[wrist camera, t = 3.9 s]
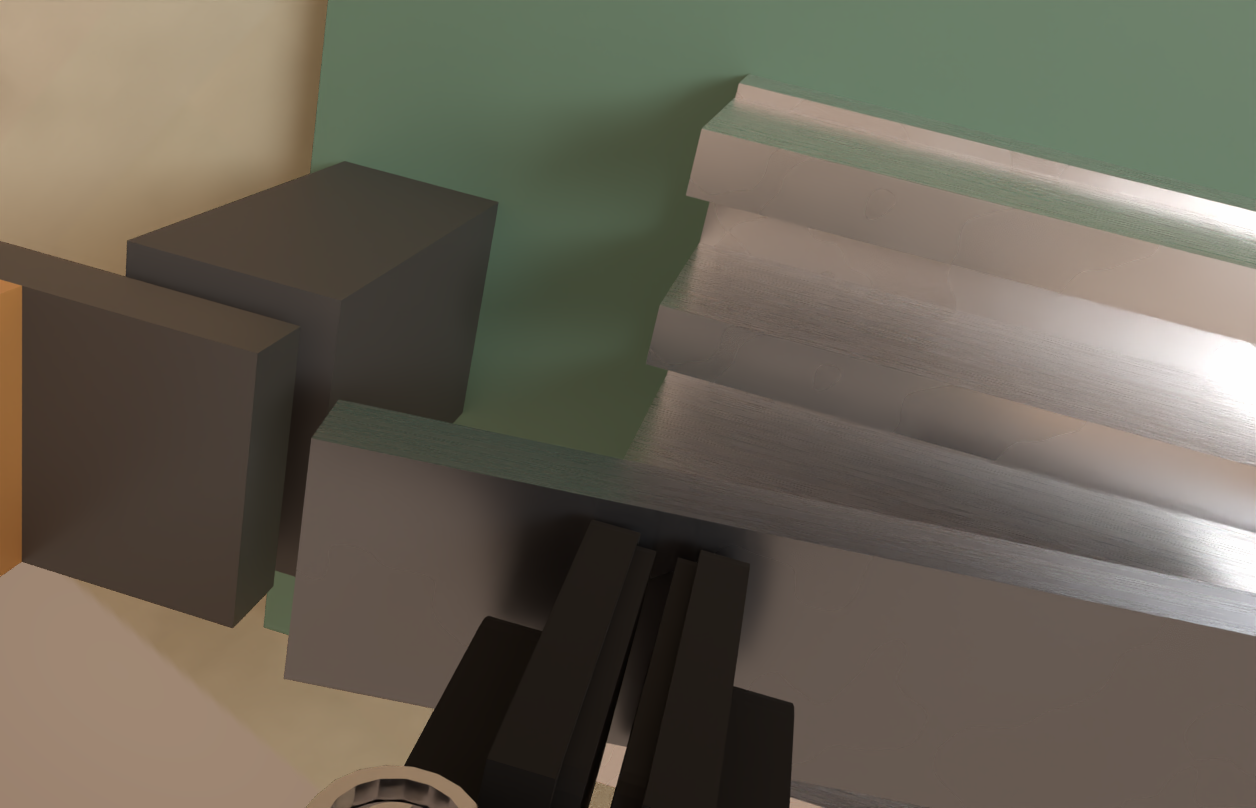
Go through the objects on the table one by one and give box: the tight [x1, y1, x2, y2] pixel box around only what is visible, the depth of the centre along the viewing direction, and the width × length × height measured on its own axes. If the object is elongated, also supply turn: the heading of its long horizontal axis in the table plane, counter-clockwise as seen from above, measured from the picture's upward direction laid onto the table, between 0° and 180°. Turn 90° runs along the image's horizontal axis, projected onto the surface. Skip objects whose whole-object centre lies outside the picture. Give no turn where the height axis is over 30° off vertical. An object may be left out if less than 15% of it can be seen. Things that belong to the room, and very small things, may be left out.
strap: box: [284, 399, 1256, 808], centre depth 13 cm, size 17×4×1 cm, turn 78°
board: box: [126, 0, 1256, 635], centre depth 17 cm, size 24×16×8 cm, turn 78°
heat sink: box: [596, 74, 1256, 808], centre depth 17 cm, size 10×10×5 cm
